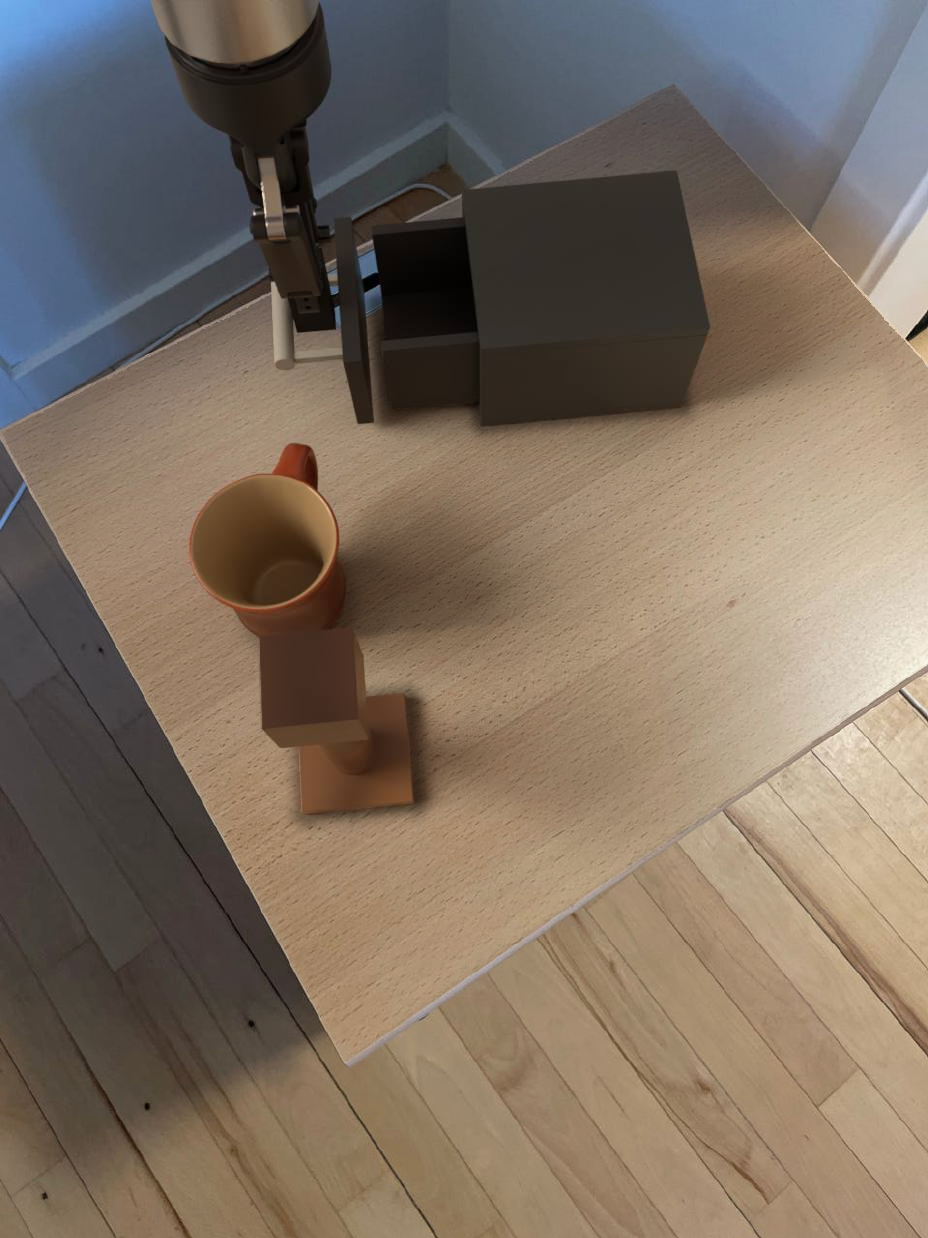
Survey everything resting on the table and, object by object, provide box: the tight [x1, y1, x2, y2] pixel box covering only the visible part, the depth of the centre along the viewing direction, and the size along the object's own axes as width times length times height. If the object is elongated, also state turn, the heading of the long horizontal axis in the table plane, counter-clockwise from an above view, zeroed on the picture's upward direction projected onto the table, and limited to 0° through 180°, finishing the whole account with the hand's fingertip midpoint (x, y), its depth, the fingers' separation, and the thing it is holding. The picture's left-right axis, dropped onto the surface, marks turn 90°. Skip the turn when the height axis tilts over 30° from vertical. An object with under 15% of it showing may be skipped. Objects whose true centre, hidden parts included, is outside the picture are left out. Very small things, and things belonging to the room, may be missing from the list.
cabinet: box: [461, 169, 711, 427], centre depth 69 cm, size 15×13×10 cm
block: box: [257, 626, 369, 749], centre depth 48 cm, size 4×4×4 cm
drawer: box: [270, 216, 480, 425], centre depth 68 cm, size 18×11×8 cm, turn 96°
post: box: [298, 692, 415, 815], centre depth 57 cm, size 7×7×14 cm
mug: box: [188, 442, 347, 638], centre depth 63 cm, size 12×9×10 cm
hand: (316, 321), depth 68 cm, fingers closed
